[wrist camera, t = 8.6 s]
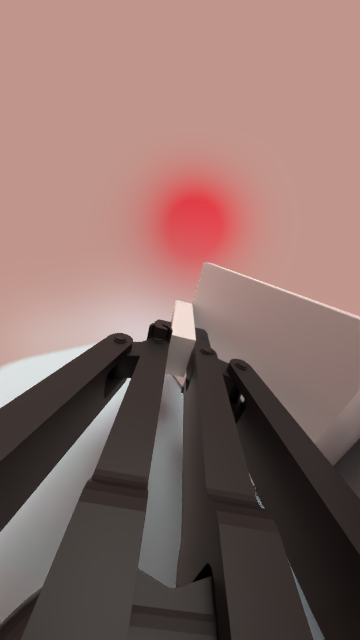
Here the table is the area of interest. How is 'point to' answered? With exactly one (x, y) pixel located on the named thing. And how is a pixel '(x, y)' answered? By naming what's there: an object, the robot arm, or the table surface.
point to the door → (288, 351)
